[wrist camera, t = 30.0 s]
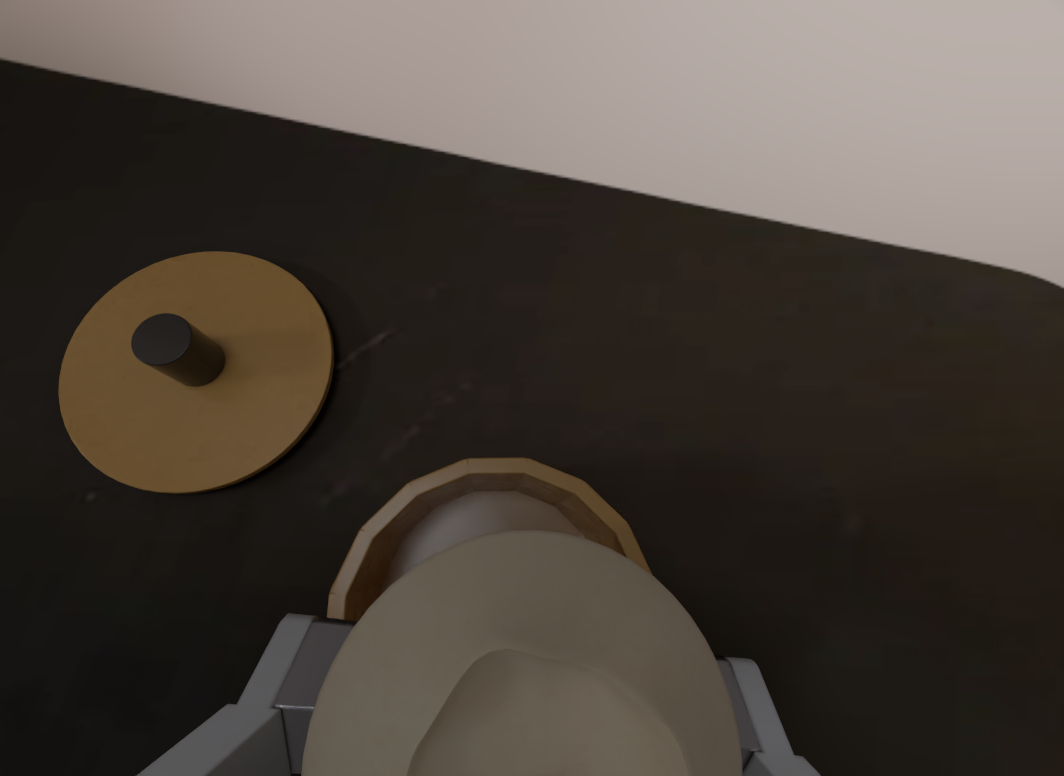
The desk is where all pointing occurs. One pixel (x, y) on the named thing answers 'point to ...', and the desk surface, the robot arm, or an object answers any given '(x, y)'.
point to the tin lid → (196, 373)
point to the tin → (470, 522)
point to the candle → (524, 672)
